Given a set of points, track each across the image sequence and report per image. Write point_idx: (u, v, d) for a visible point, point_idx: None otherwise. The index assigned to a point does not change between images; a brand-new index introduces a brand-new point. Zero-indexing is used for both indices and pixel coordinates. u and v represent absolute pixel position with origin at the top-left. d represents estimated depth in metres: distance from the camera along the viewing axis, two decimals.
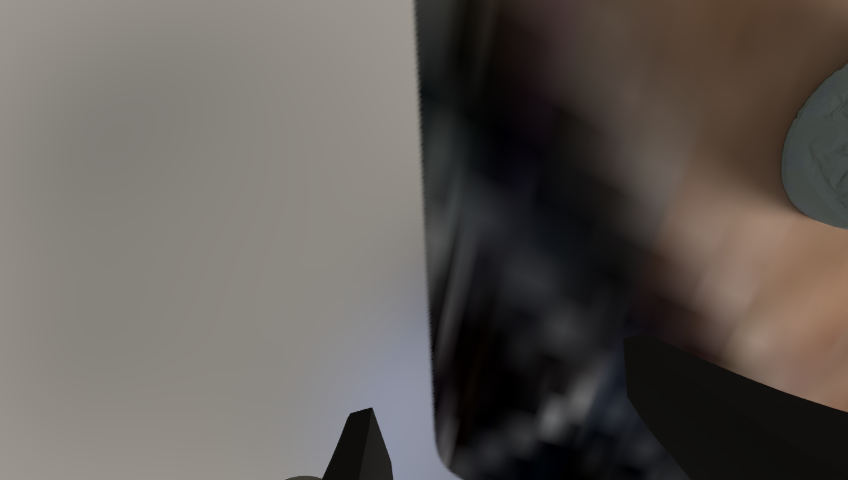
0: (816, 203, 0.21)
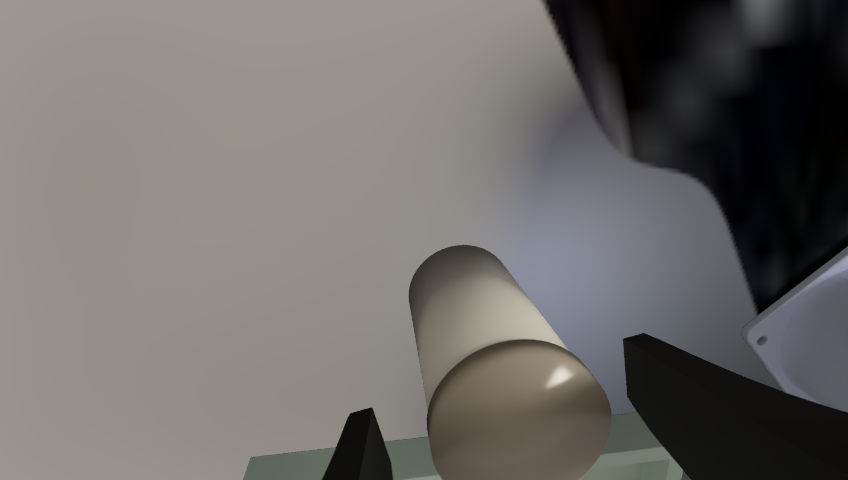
0: None
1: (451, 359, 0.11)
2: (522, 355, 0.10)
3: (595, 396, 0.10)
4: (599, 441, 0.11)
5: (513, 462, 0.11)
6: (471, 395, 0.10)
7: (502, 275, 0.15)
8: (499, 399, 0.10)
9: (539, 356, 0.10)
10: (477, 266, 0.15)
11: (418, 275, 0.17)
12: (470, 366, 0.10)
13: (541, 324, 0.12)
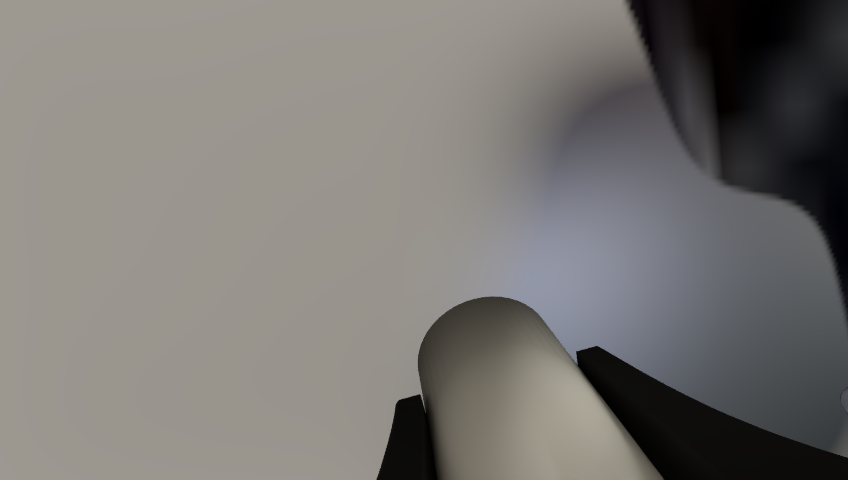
0: None
1: None
2: None
3: None
4: None
5: None
6: None
7: (553, 351, 0.11)
8: None
9: None
10: (517, 335, 0.11)
11: (432, 340, 0.12)
12: None
13: (636, 458, 0.08)
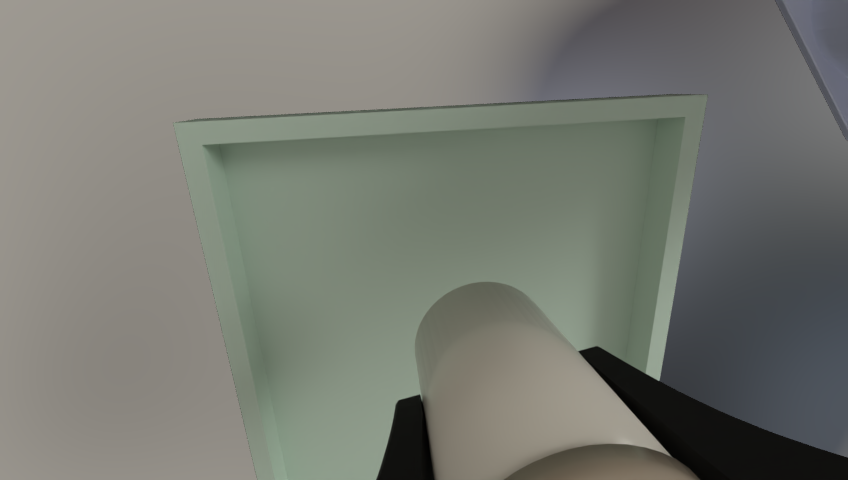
0: None
1: (487, 468, 0.07)
2: (618, 479, 0.06)
3: None
4: None
5: None
6: None
7: (546, 326, 0.11)
8: None
9: None
10: (512, 311, 0.11)
11: (428, 320, 0.13)
12: None
13: (623, 409, 0.08)
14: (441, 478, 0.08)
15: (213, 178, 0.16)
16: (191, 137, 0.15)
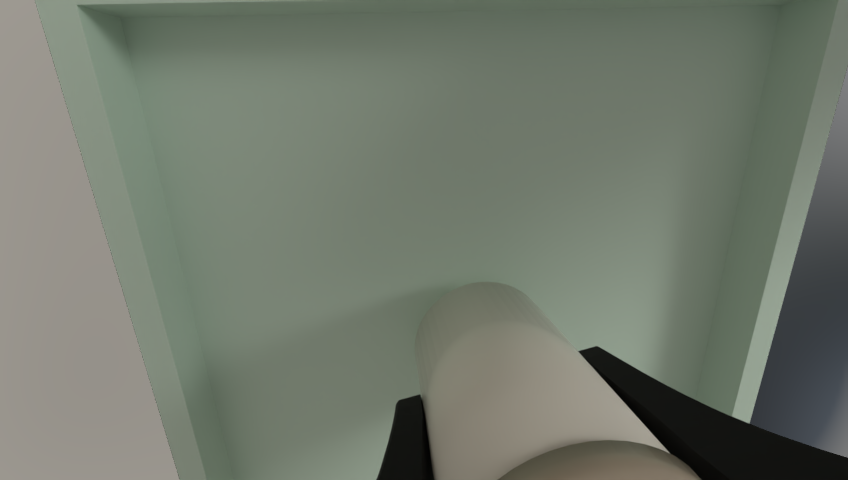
0: None
1: (486, 465, 0.07)
2: (617, 475, 0.06)
3: None
4: None
5: None
6: None
7: (546, 325, 0.11)
8: None
9: (648, 479, 0.06)
10: (512, 310, 0.11)
11: (428, 320, 0.13)
12: None
13: (622, 407, 0.08)
14: (440, 475, 0.08)
15: (104, 69, 0.10)
16: None
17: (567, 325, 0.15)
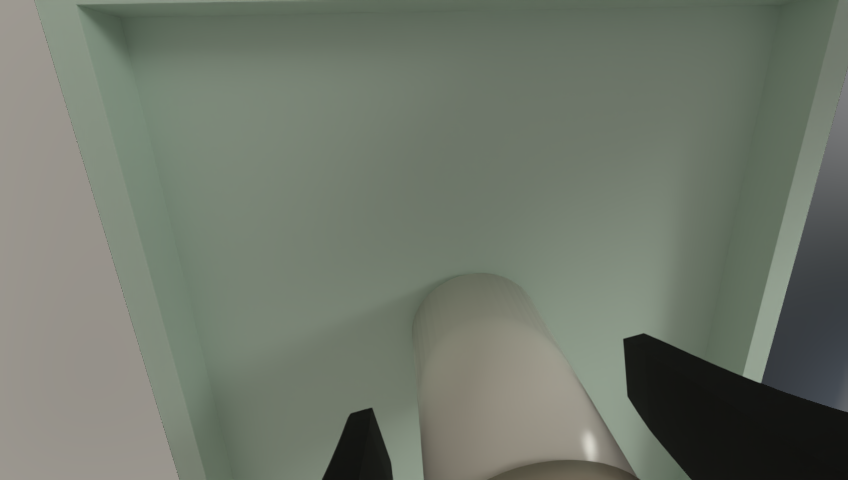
0: None
1: (464, 469, 0.08)
2: None
3: None
4: None
5: None
6: None
7: (533, 325, 0.12)
8: None
9: None
10: (502, 309, 0.12)
11: (425, 308, 0.14)
12: None
13: (591, 419, 0.09)
14: (427, 467, 0.09)
15: (104, 69, 0.10)
16: None
17: (567, 325, 0.15)
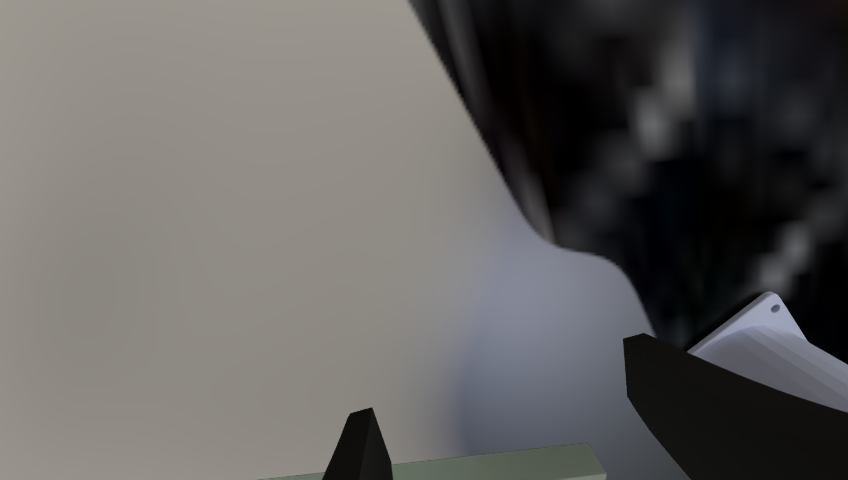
0: None
1: None
2: None
3: None
4: None
5: None
6: None
7: None
8: None
9: None
10: None
11: None
12: None
13: None
14: None
15: None
16: None
17: None
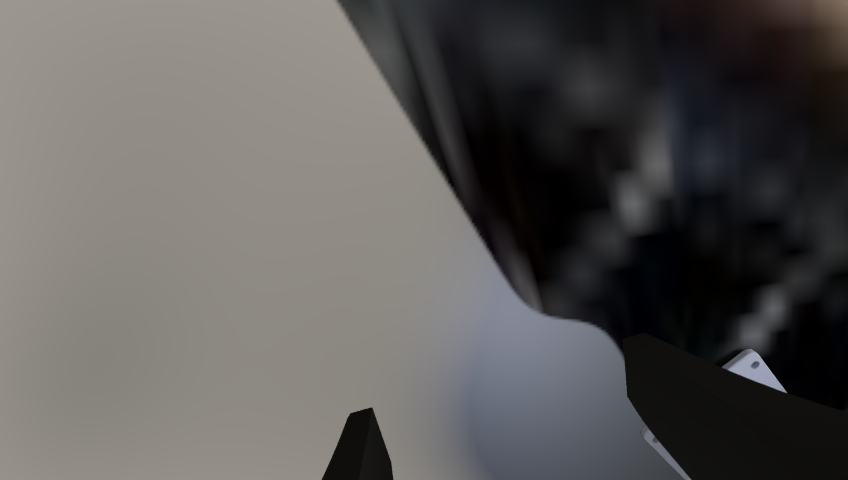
0: None
1: None
2: None
3: None
4: None
5: None
6: None
7: None
8: None
9: None
10: None
11: None
12: None
13: None
14: None
15: None
16: None
17: None
